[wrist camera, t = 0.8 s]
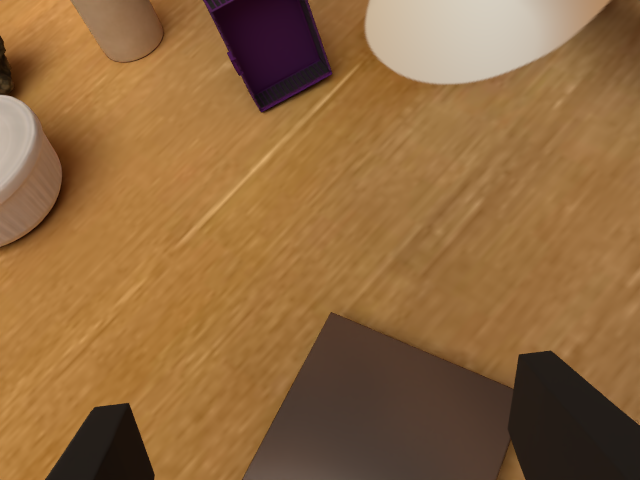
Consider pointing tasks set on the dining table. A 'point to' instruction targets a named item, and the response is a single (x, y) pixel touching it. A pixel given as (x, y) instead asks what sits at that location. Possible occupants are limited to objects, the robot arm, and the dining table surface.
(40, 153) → the ramekin
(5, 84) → the rock
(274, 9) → the building model
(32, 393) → the dining table surface
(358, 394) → the desk pad
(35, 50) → the dining table surface
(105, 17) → the candle
